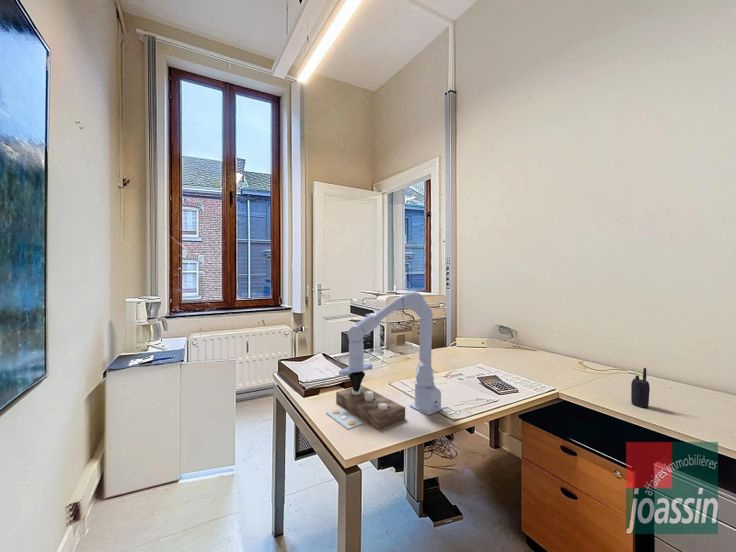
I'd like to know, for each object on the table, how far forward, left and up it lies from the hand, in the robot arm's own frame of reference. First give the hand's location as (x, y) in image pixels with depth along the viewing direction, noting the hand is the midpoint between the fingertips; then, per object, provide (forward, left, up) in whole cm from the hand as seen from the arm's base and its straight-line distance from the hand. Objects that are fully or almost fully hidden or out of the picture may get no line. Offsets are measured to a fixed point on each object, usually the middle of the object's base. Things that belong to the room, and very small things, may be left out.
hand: (356, 390), depth 124 cm
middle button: (-8, 0, -2) cm, 8 cm away
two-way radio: (-68, -84, -5) cm, 108 cm away
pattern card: (-8, +11, -5) cm, 14 cm away
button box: (-8, 0, -5) cm, 9 cm away
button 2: (-16, 0, -4) cm, 16 cm away
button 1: (0, 0, -4) cm, 4 cm away
